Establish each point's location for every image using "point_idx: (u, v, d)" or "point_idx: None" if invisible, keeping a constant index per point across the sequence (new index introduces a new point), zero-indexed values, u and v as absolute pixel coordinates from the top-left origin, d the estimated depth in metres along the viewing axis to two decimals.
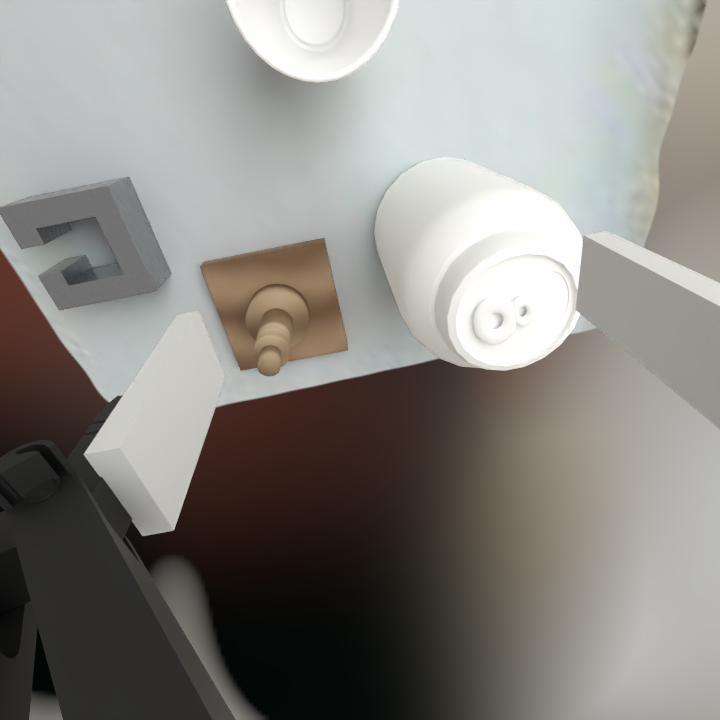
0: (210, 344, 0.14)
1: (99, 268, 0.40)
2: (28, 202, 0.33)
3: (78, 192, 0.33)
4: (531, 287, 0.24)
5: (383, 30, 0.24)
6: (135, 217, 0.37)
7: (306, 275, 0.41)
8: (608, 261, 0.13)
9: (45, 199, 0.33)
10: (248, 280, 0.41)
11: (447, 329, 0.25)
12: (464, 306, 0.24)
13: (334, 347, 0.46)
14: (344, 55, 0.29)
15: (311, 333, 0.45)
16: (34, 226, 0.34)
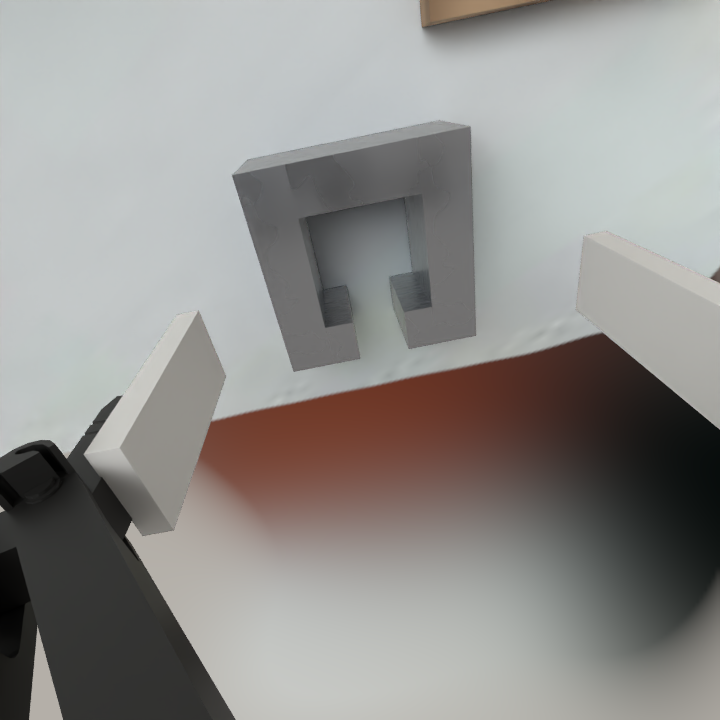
0: (210, 344, 0.14)
1: (413, 258, 0.22)
2: (280, 325, 0.19)
3: (253, 236, 0.17)
4: None
5: None
6: (311, 151, 0.18)
7: None
8: (608, 261, 0.13)
9: (272, 297, 0.18)
10: None
11: None
12: None
13: None
14: None
15: None
16: (321, 328, 0.19)
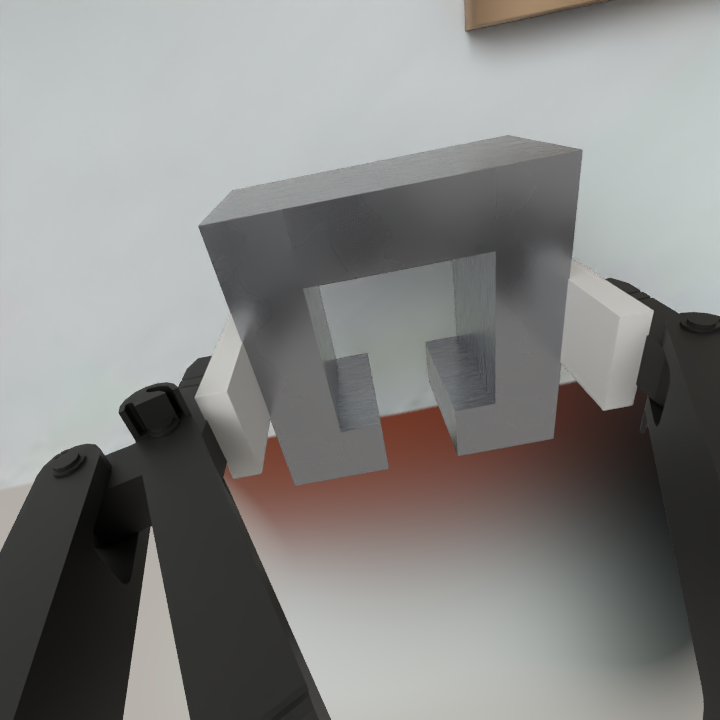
0: None
1: (460, 321, 0.16)
2: (276, 429, 0.13)
3: (234, 314, 0.11)
4: None
5: None
6: (324, 183, 0.12)
7: None
8: None
9: (264, 395, 0.12)
10: None
11: None
12: None
13: None
14: None
15: None
16: (335, 433, 0.14)
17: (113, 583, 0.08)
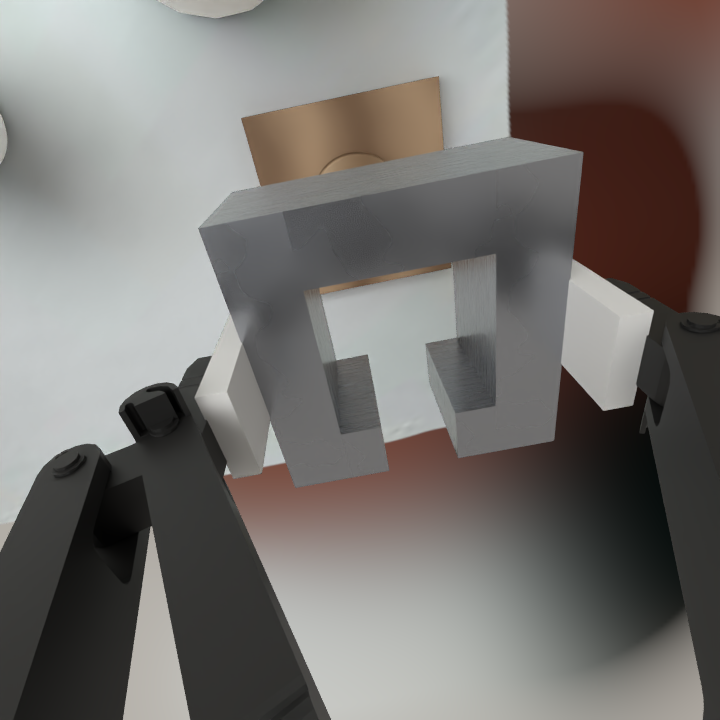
0: None
1: (460, 323, 0.16)
2: (276, 431, 0.13)
3: (234, 317, 0.11)
4: None
5: None
6: (324, 185, 0.12)
7: (297, 152, 0.26)
8: None
9: (264, 397, 0.12)
10: None
11: None
12: None
13: (429, 105, 0.26)
14: None
15: (399, 148, 0.27)
16: (335, 435, 0.13)
17: (113, 583, 0.08)
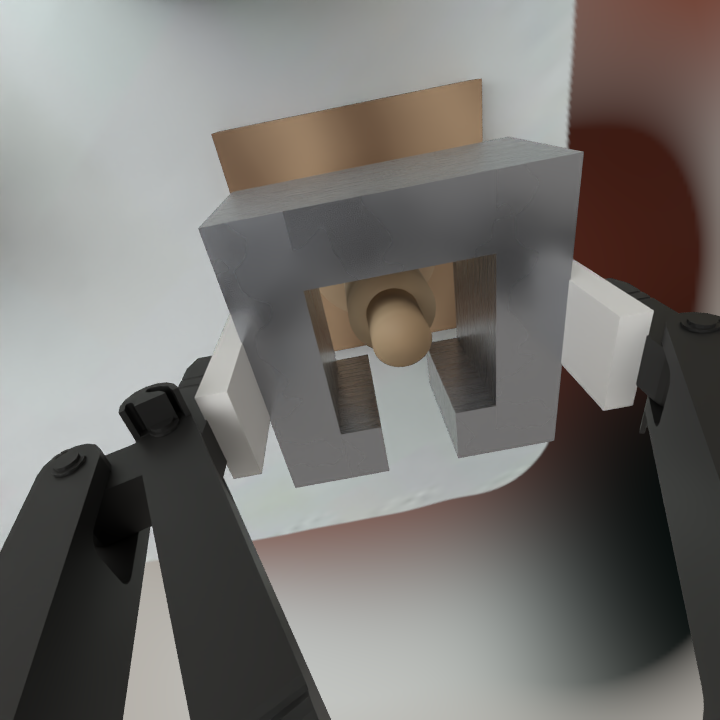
0: None
1: (460, 323, 0.16)
2: (276, 431, 0.13)
3: (234, 316, 0.11)
4: None
5: None
6: (324, 185, 0.12)
7: (288, 179, 0.20)
8: None
9: (264, 397, 0.12)
10: None
11: None
12: None
13: (467, 118, 0.19)
14: None
15: None
16: (335, 435, 0.13)
17: (113, 583, 0.08)
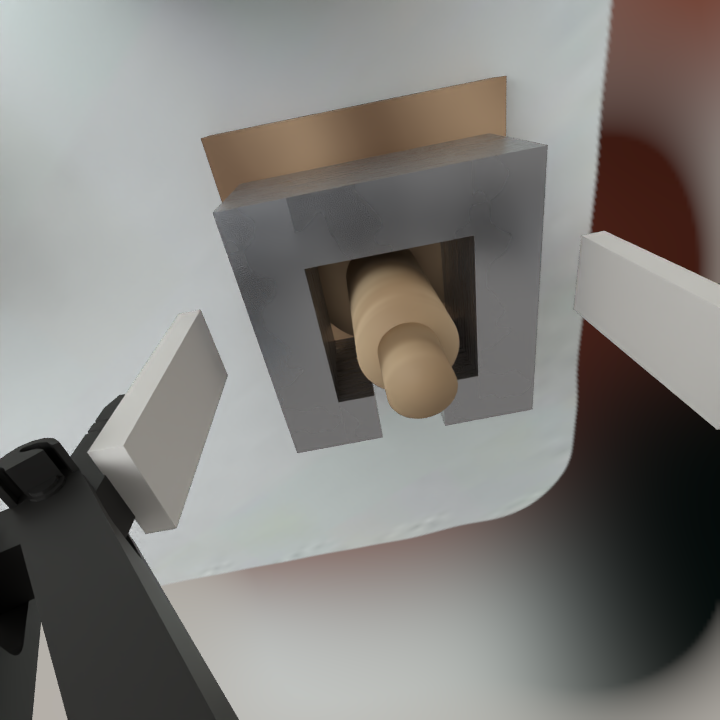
0: (212, 343, 0.15)
1: (448, 304, 0.17)
2: (280, 399, 0.15)
3: (243, 292, 0.13)
4: None
5: None
6: (322, 176, 0.13)
7: None
8: (606, 261, 0.13)
9: (269, 367, 0.14)
10: None
11: None
12: None
13: (489, 120, 0.17)
14: None
15: None
16: (333, 403, 0.15)
17: None
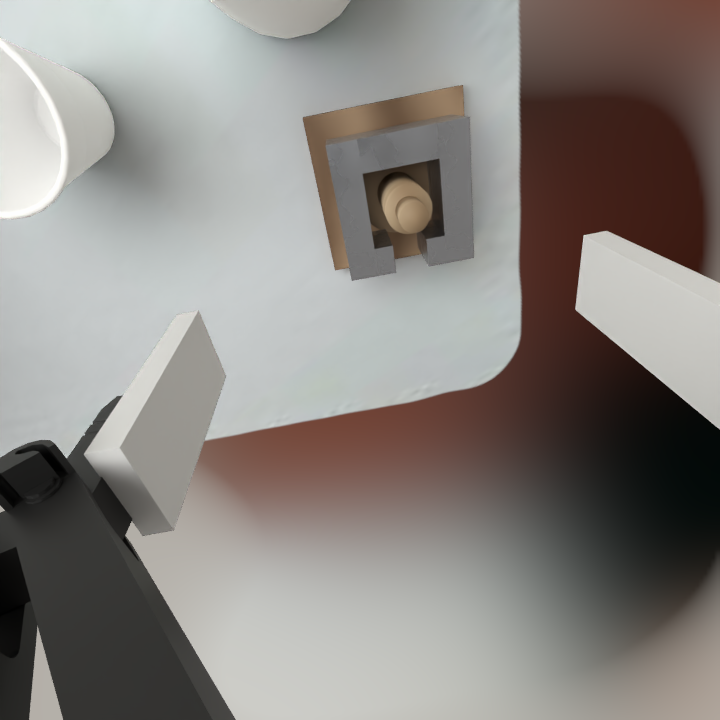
0: (210, 344, 0.14)
1: (432, 208, 0.32)
2: (345, 246, 0.30)
3: (334, 185, 0.27)
4: None
5: None
6: (370, 133, 0.28)
7: None
8: (608, 261, 0.13)
9: (342, 226, 0.29)
10: None
11: None
12: None
13: (454, 108, 0.32)
14: (68, 84, 0.26)
15: None
16: (372, 249, 0.30)
17: None
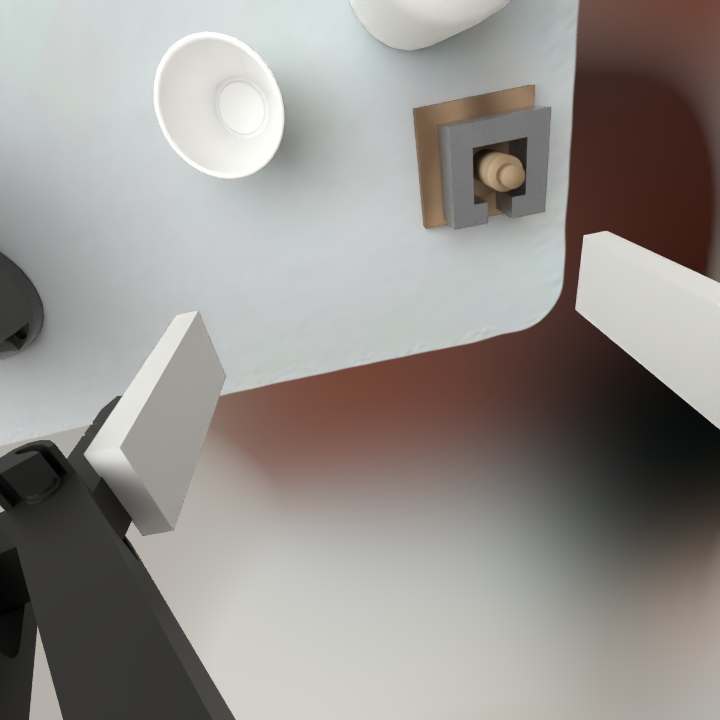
0: (210, 344, 0.14)
1: None
2: (453, 202, 0.40)
3: (451, 156, 0.38)
4: None
5: (244, 49, 0.31)
6: (474, 119, 0.39)
7: None
8: (608, 261, 0.13)
9: (453, 187, 0.40)
10: None
11: None
12: None
13: (527, 102, 0.43)
14: (266, 83, 0.37)
15: None
16: (472, 205, 0.41)
17: None
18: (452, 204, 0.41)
